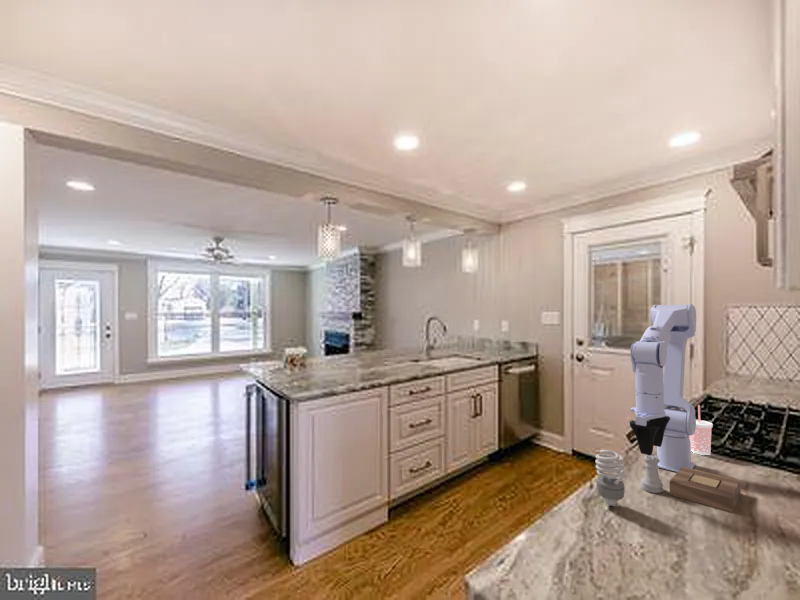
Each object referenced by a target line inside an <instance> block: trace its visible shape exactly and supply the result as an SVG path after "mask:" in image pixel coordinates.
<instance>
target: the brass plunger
mask: <svg viewBox="0 0 800 600" xmlns="http://www.w3.org/2000/svg"><path fill="white" fill-rule="evenodd" d="M690 481H691V482H695V483H699V484H702V485H706V486H710V487H714V488H718V487H719V485H720V481H719V480H715V479H711V478H707V477H702V476H698V475H694V476H693V477H692V478H691V480H690Z"/></svg>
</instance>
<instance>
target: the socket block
mask: <svg viewBox="0 0 800 600" xmlns="http://www.w3.org/2000/svg"><path fill="white" fill-rule="evenodd" d="M694 475H698V476H702V477H707V478H711V479H715V480H719V481H720V485H719V487H718V488H714V487H710V486H706V485H702V484H699V483H695V482H691V481H690V480H691V478H692V477H693V476H694ZM669 495H670V496H674V497H677V498H682V499H685V500H688V501H691V502H695V503H699V504H702V505H706V506H708V507H712V508H716V509H719V510H723V511H726V512H730V513H733V511H734V509H735V508H736V505H737V503H738V500H739V498H740V496H741V480H740V479H735V478H732V477H727V476H725V475H720V474H716V473H712V472H707V471H703V470H699V469H694V468H693V469H691V468H687V467H681V469H680V470H679V471H678V472H676V473H675V474H674V475H673V477H671V479H670V480H669Z"/></svg>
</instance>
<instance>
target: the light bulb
mask: <svg viewBox="0 0 800 600" xmlns="http://www.w3.org/2000/svg"><path fill="white" fill-rule="evenodd" d="M595 458H596V459H595V464H596V465H595V468H596V474H597V475H598V476H599V477H597V479H596V490H597V494H598V495H600V496H601V497H602V498H603V500H604V503H606V505H608V506H610V507H614V506H616V505H618V501H619V500H623V499H624V497H625V483H624V482H623V481H622V480H623V479H624V474H625V473H626V472H625V467H626V466H625V463H624V462H625V459H624V458H623V456H622V455H621V454H619V453H618V452H616V451H614V450H611V449H610V450H609V449H600V450H599V453H597V454H596V455H595Z"/></svg>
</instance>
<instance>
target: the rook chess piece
mask: <svg viewBox="0 0 800 600" xmlns="http://www.w3.org/2000/svg"><path fill="white" fill-rule="evenodd" d="M643 460H644V462H645V464H644V466H645V472H644V476H643V479H641V487H642V489H643V490H644V491H646V492H648V493H652V494H662V492H664V488H663V487H664V485H663V482H662V480H661V479H660V475H659V469H660V468H659V467H658V463H659V459H658V457H657V454H655V455H654V453H652V455H646V454H644V457H643Z"/></svg>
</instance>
